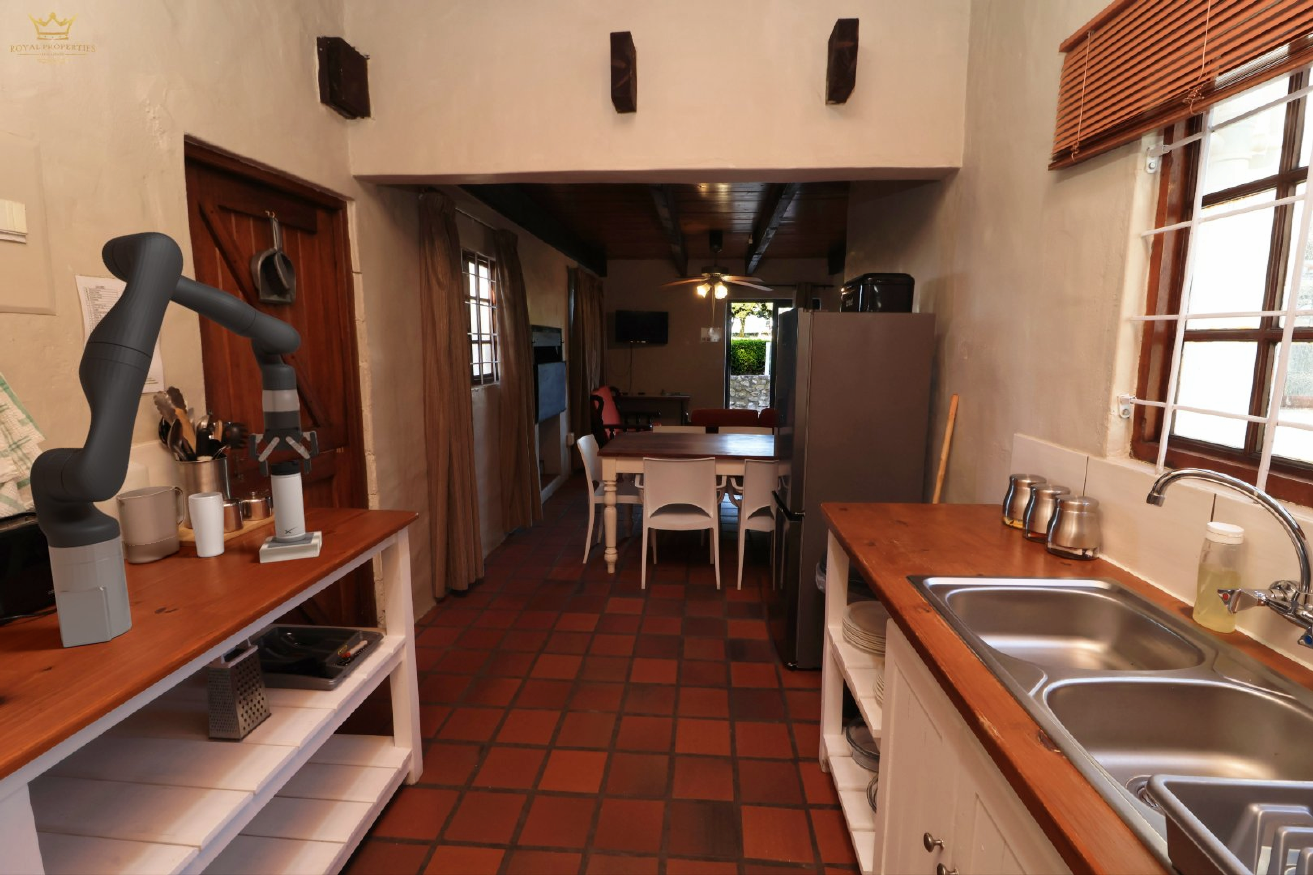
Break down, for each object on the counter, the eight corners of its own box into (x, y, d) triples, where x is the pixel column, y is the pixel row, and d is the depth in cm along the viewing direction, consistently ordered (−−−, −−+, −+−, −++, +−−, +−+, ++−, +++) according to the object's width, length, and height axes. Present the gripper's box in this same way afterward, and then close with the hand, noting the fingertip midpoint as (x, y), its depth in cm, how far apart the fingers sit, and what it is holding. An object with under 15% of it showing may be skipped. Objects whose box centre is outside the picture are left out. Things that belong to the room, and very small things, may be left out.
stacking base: (318, 556, 149) (317, 543, 149) (260, 563, 144) (259, 549, 144) (322, 542, 160) (321, 530, 160) (268, 548, 155) (267, 535, 155)
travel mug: (293, 544, 148) (286, 462, 145) (270, 542, 149) (263, 461, 147) (312, 536, 154) (306, 458, 151) (290, 534, 155) (283, 457, 153)
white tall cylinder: (192, 553, 151) (186, 494, 149) (226, 548, 155) (220, 490, 153) (195, 561, 146) (189, 499, 144) (229, 554, 150) (224, 495, 148)
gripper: (243, 411, 141) (249, 480, 143) (313, 409, 147) (318, 475, 149) (249, 408, 148) (255, 474, 150) (316, 406, 154) (320, 469, 156)
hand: (286, 474), depth 150 cm, fingers open, 8 cm apart
